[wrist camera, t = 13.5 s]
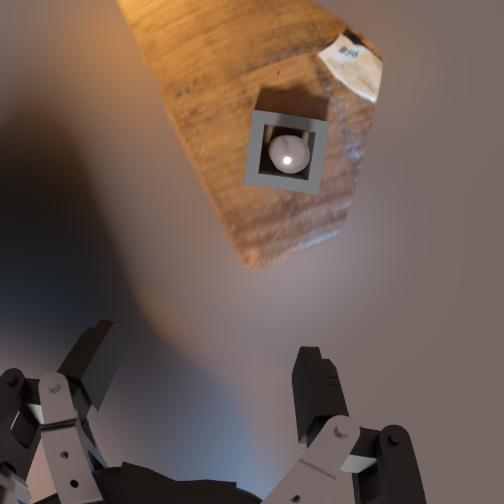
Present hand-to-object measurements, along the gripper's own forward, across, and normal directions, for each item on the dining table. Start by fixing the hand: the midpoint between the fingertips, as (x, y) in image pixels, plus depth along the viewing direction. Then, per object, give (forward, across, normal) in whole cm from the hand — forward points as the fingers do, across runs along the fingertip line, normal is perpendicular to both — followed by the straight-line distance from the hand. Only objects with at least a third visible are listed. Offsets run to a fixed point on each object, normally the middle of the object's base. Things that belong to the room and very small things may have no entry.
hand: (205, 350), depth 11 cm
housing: (+28, -5, -7) cm, 29 cm away
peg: (+28, -5, -7) cm, 29 cm away
